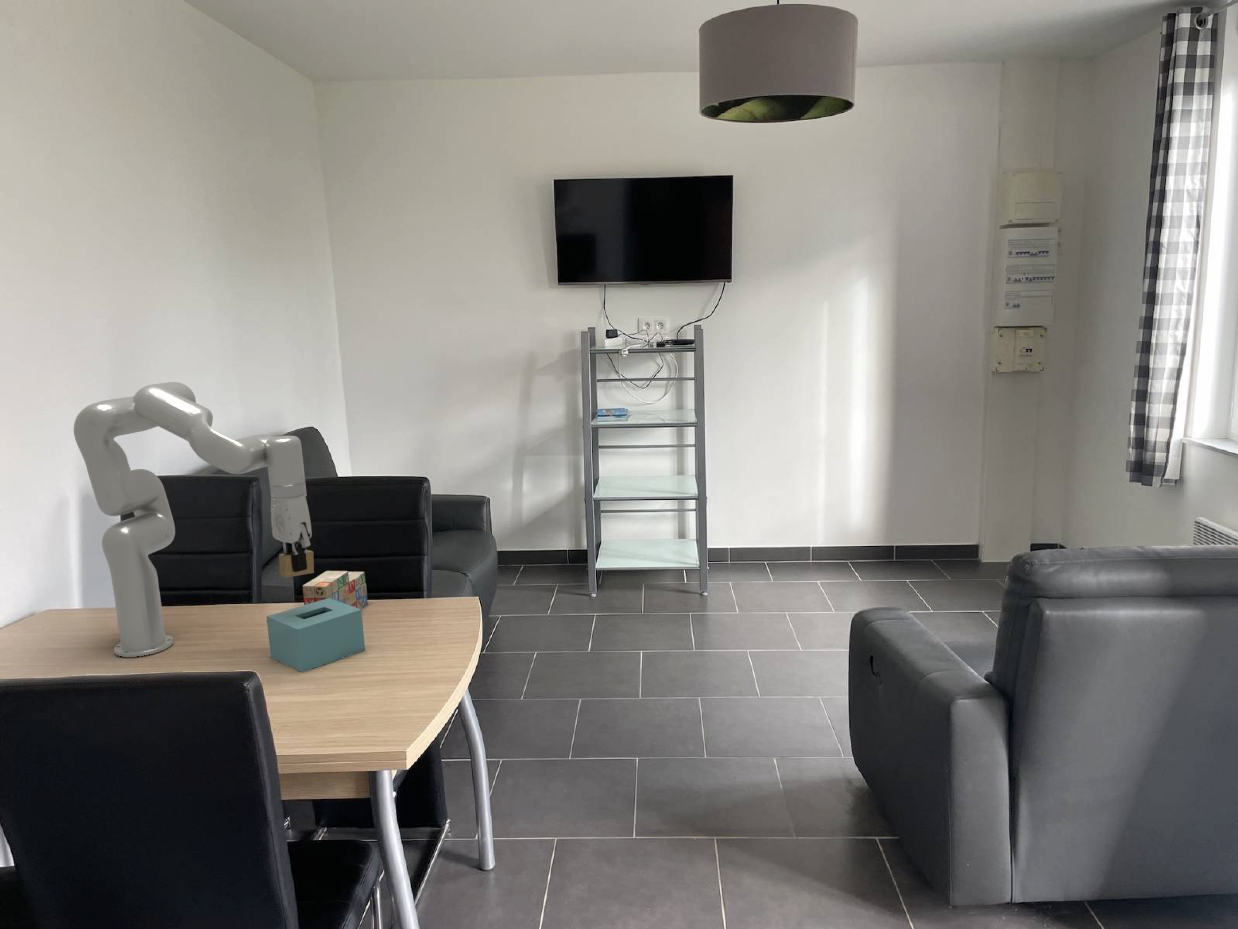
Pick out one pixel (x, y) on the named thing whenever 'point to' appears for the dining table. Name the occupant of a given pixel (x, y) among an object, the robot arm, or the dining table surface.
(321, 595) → the stack of blocks
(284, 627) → the coin box
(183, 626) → the dining table surface
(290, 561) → the tan flat block
